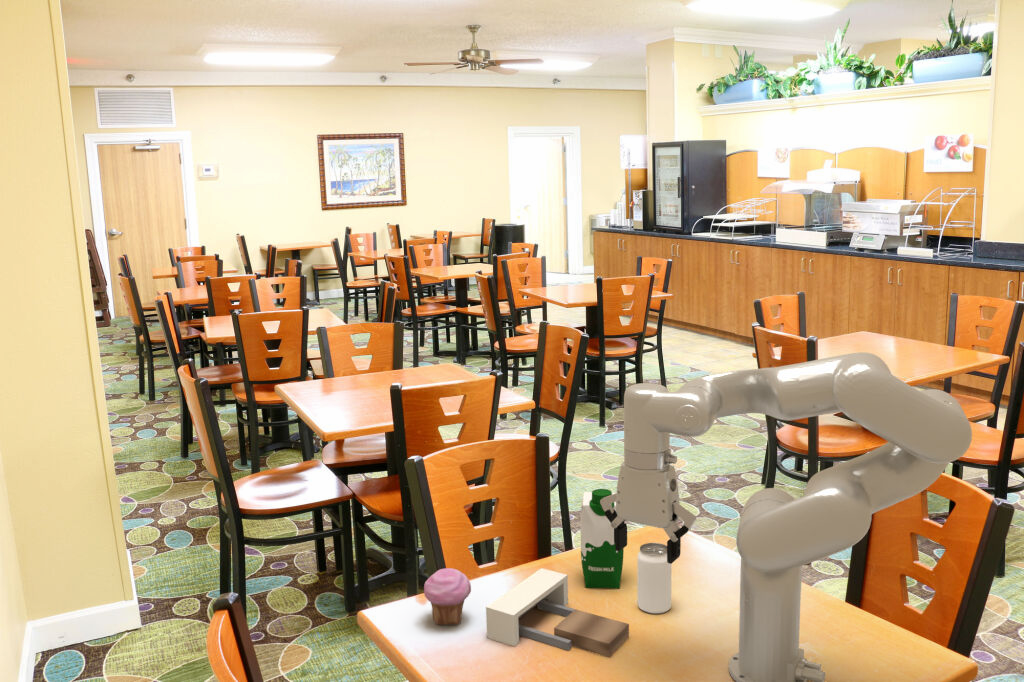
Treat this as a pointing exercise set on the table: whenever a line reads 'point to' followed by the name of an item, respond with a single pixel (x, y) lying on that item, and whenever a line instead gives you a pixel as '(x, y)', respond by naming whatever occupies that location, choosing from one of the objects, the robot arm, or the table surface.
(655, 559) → the can
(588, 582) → the milk carton
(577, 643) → the walnut tile
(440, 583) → the cupcake
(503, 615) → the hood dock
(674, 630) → the table surface
